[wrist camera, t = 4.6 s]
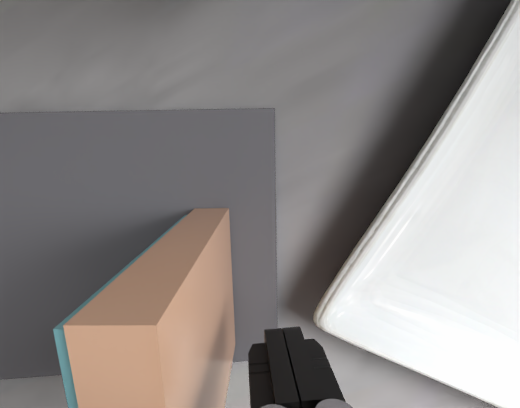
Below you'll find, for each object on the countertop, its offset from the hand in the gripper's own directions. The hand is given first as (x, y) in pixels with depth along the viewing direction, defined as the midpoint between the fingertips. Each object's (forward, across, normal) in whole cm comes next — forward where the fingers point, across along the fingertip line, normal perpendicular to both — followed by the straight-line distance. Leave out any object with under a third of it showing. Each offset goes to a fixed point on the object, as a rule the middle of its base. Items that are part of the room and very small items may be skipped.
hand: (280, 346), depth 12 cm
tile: (+6, +3, 0) cm, 7 cm away
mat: (+7, +10, -2) cm, 13 cm away
